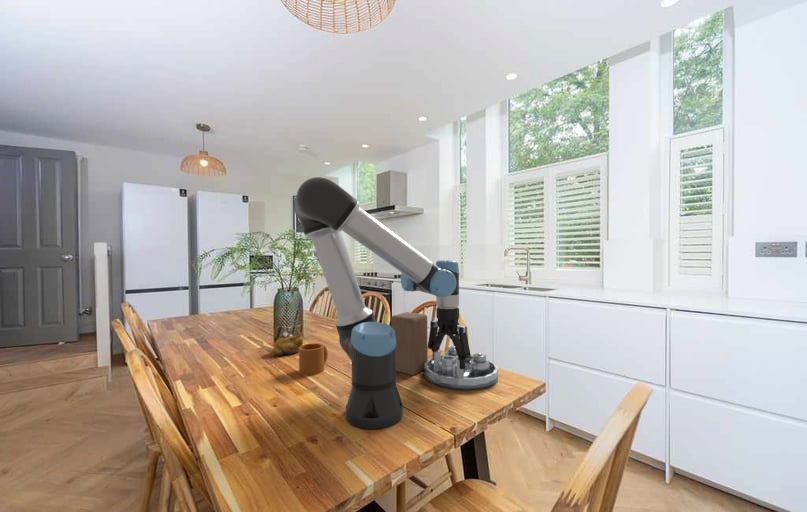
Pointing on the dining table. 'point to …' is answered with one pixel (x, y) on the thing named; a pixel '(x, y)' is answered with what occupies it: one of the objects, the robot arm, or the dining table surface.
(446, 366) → the gear
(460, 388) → the carrier
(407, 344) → the wooden block
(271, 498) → the dining table surface
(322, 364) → the mug
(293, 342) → the bread roll
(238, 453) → the dining table surface
